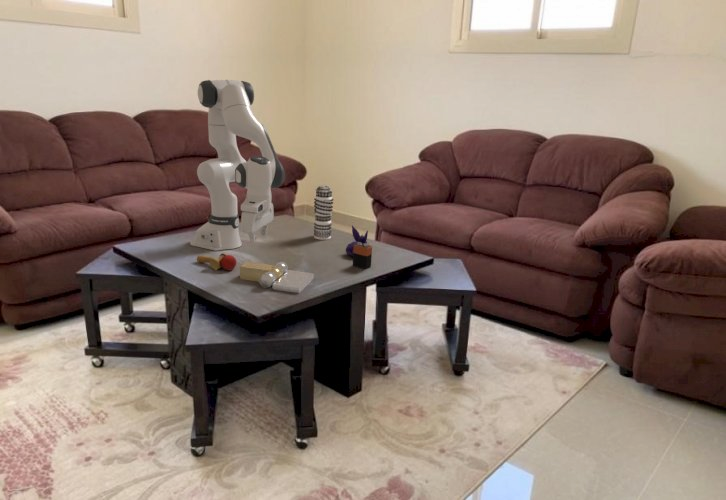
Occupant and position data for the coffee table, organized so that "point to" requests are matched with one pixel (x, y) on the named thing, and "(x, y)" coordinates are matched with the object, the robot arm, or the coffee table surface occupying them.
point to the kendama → (219, 261)
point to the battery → (362, 255)
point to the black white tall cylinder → (323, 212)
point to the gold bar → (258, 271)
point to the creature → (358, 239)
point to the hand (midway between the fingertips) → (258, 238)
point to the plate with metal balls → (286, 279)
